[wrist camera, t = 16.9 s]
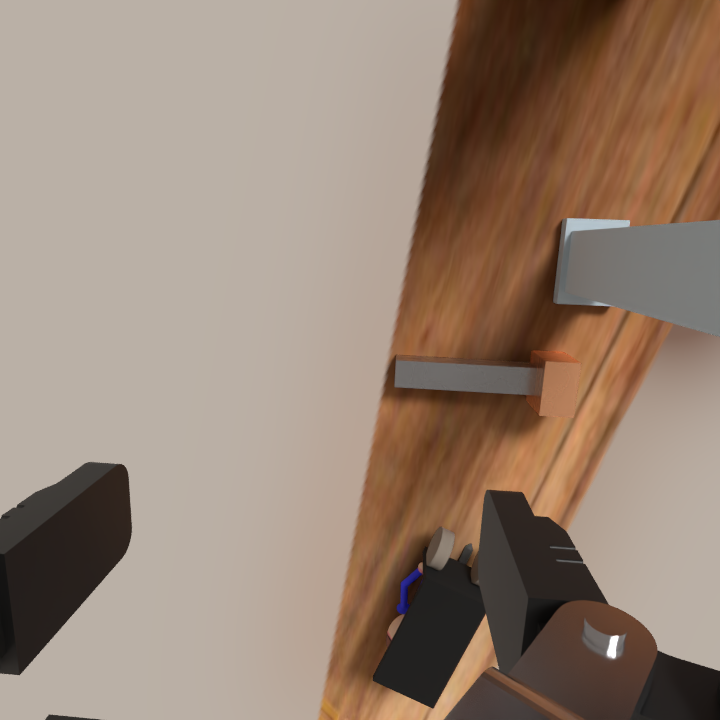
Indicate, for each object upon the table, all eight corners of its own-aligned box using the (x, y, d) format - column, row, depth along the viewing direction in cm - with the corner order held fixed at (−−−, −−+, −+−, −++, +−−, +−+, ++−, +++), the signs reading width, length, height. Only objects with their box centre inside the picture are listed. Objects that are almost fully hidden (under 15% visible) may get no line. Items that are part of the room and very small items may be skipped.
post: (562, 218, 44) (971, 156, 13) (623, 221, 43) (1196, 162, 12) (552, 302, 45) (895, 429, 14) (611, 304, 45) (1095, 441, 14)
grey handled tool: (396, 342, 47) (396, 353, 43) (563, 351, 46) (581, 363, 42) (393, 391, 48) (393, 406, 44) (557, 401, 47) (573, 417, 43)
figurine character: (429, 503, 52) (370, 633, 54) (439, 538, 44) (369, 688, 46) (492, 529, 52) (430, 658, 54) (512, 568, 44) (440, 717, 46)
